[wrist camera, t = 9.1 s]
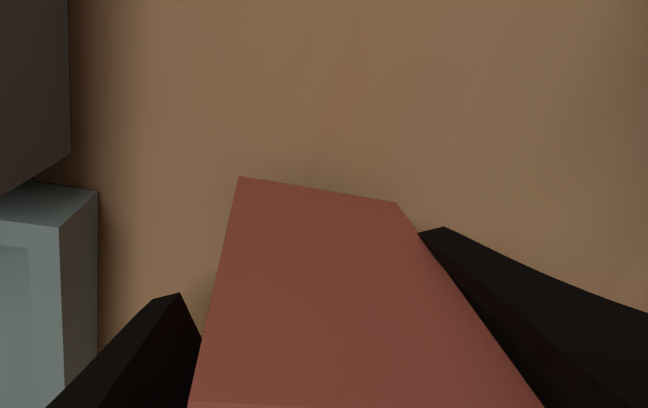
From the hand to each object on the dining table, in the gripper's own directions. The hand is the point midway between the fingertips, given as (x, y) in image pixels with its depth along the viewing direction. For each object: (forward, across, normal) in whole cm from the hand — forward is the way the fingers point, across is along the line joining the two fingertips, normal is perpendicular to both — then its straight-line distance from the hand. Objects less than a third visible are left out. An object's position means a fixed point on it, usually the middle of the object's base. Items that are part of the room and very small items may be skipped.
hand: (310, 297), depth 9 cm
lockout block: (+2, 0, 0) cm, 2 cm away
